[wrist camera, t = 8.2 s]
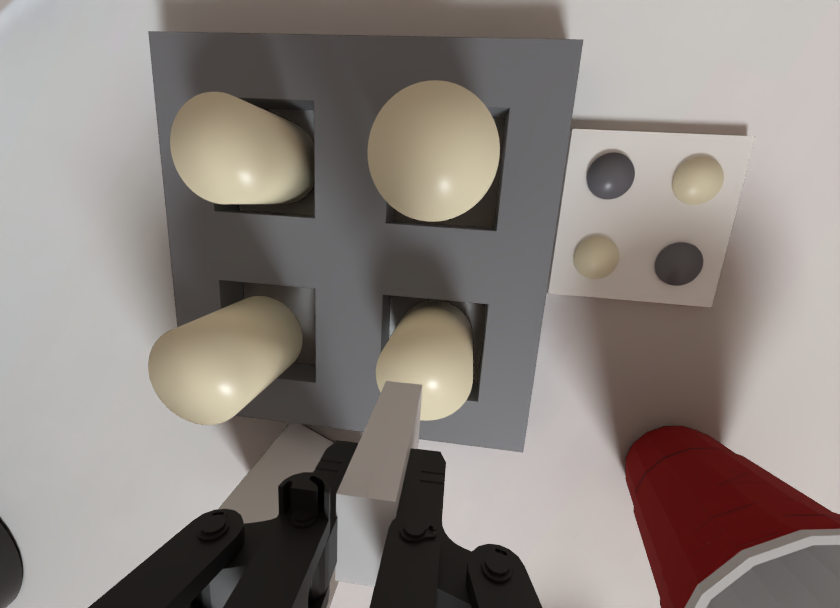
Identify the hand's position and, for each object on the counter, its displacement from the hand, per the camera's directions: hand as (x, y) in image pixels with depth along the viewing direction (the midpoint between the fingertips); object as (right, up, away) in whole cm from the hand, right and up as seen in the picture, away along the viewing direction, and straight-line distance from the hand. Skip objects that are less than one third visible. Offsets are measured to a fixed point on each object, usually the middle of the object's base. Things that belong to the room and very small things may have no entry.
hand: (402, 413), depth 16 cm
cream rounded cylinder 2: (-9, +3, +7) cm, 12 cm away
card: (+13, +9, +6) cm, 17 cm away
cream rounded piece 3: (+2, +2, +9) cm, 9 cm away
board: (-3, +8, +9) cm, 12 cm away
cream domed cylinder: (+2, +11, +4) cm, 12 cm away
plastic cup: (+17, -6, +10) cm, 20 cm away
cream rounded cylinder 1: (-8, +13, +8) cm, 17 cm away
